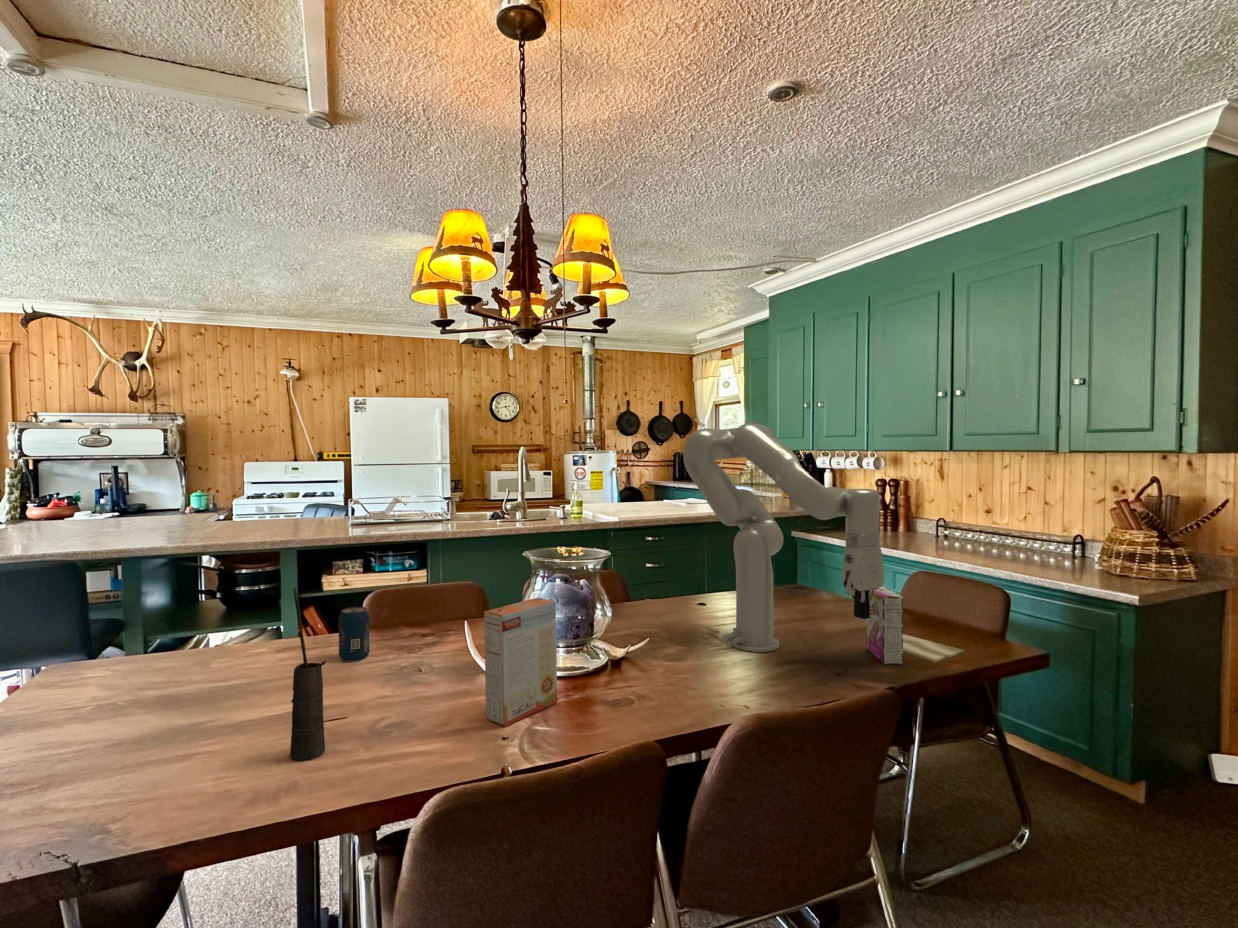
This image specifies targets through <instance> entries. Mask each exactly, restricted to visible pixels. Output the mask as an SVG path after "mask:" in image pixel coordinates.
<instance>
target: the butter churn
mask: <svg viewBox="0 0 1238 928" xmlns="http://www.w3.org/2000/svg"><path fill="white" fill-rule="evenodd" d="M293 596H294V597H293V598H294V603H295V604H294V605H295V611H296V619H297V625H298V631H299V638H300V644H301V645H300V647H301V652H302V659H303V663H300V664H298V665H296V667H294V669H293V677H292V679H293V682H292V683H293V684H292V691H293V694H292V699H291V701H290V703H292V708H291V709H292V710H291V711H292V712H291V737H290V751H289V752H290V753H289V756H290V759H291V758H292V759H291V760H293V759H294V760H293V761H305V760H308V759H309V760H311V759H316V758H318V757H319V756H321V755H322V754H324V753H325V750H326V746H325V745H326V744H325V743H326V741H325V726H324V725H325V722H324V699H323V698H324V685H323V684H324V683H323V680H324V679H323V672H322V671H323V669H322V666H324V665H326V663H327V661H326V660H323V661H321V662H319V663H318V662H308V658H307V653H306V644H305V639H304V638H305V637H304V631H303V626H302V617H301V616H302V615H301V609H300V604H299V603H300V602H299V597H298V591H297V588H296V587H294V588H293Z"/></svg>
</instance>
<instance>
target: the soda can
mask: <svg viewBox="0 0 1238 928" xmlns="http://www.w3.org/2000/svg"><path fill="white" fill-rule="evenodd" d="M367 609H368V608H366V607H365V606H350V607H345V608H343V609H341V612H340V614H339V617H338V655H339V658H340V659H341V661H343V662H344V663H353V662H354V663H355V662H360V661H363V660H365V659H367V658H368V655H369V653H370V650H371V649H370V647H371V645H370V614H369V612H368V610H367Z"/></svg>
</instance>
